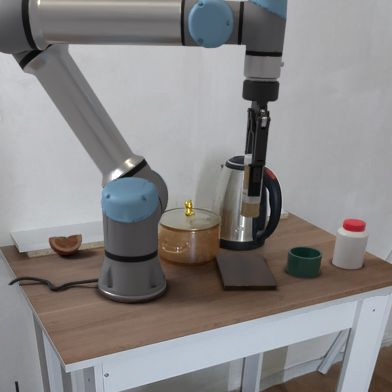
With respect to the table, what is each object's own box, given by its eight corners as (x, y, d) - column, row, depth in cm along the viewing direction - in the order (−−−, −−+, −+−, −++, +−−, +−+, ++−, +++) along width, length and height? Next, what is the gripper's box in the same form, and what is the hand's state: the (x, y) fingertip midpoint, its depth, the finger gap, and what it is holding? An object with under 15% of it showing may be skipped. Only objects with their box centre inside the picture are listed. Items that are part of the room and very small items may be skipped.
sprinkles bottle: (237, 212, 130) (242, 153, 123) (256, 212, 131) (262, 153, 124) (242, 218, 126) (247, 157, 119) (261, 218, 127) (268, 157, 120)
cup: (290, 278, 134) (292, 258, 132) (283, 264, 141) (285, 246, 139) (323, 277, 135) (326, 258, 132) (314, 264, 142) (317, 246, 139)
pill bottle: (360, 259, 146) (368, 218, 141) (364, 270, 140) (373, 228, 134) (330, 257, 147) (337, 216, 141) (333, 268, 140) (341, 226, 135)
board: (224, 290, 127) (225, 285, 126) (215, 257, 144) (215, 253, 143) (276, 290, 128) (276, 285, 127) (260, 257, 145) (261, 253, 144)
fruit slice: (79, 248, 146) (78, 229, 144) (86, 256, 141) (85, 238, 139) (47, 252, 143) (45, 233, 141) (54, 261, 138) (52, 242, 136)
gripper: (289, 84, 107) (275, 204, 119) (271, 75, 122) (260, 183, 134) (250, 83, 106) (241, 204, 118) (237, 74, 121) (230, 182, 133)
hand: (251, 192), depth 126 cm, fingers closed on sprinkles bottle, 5 cm apart
